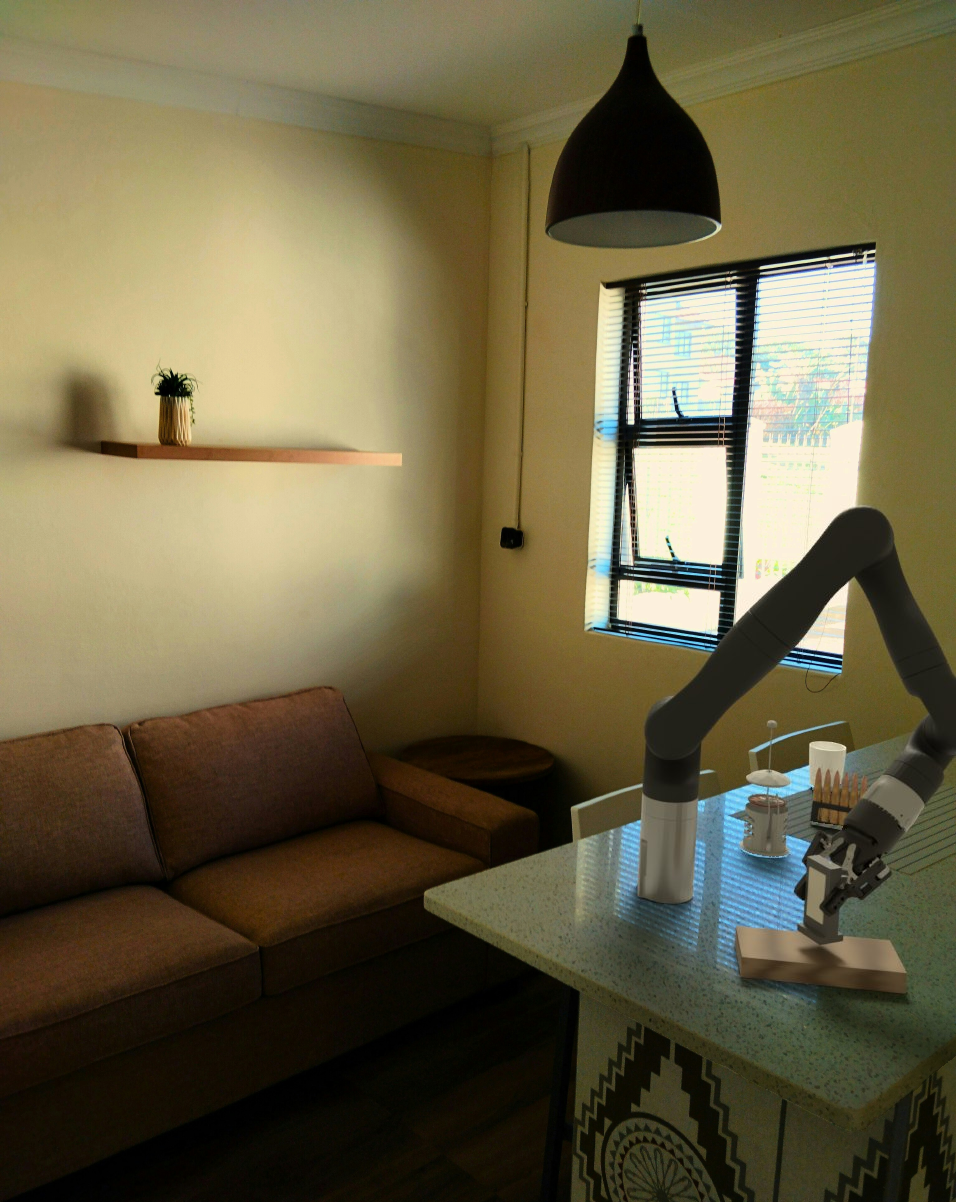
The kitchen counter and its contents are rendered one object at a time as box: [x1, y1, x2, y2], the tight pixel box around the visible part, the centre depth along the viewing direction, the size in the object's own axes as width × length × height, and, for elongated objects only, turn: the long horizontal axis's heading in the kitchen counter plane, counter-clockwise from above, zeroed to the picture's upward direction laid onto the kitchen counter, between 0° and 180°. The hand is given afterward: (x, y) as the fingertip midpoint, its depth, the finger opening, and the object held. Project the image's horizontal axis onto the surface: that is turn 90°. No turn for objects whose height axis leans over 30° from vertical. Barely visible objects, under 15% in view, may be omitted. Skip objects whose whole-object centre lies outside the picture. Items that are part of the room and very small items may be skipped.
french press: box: [739, 719, 792, 857], centre depth 190 cm, size 10×12×25 cm
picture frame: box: [796, 855, 844, 945], centre depth 145 cm, size 4×5×11 cm
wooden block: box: [734, 925, 908, 994], centre depth 146 cm, size 22×10×3 cm, turn 81°
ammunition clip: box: [809, 767, 868, 826], centre depth 204 cm, size 11×2×12 cm, turn 57°
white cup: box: [808, 740, 847, 787], centre depth 230 cm, size 8×8×10 cm
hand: (811, 904), depth 144 cm, fingers closed on picture frame, 5 cm apart
